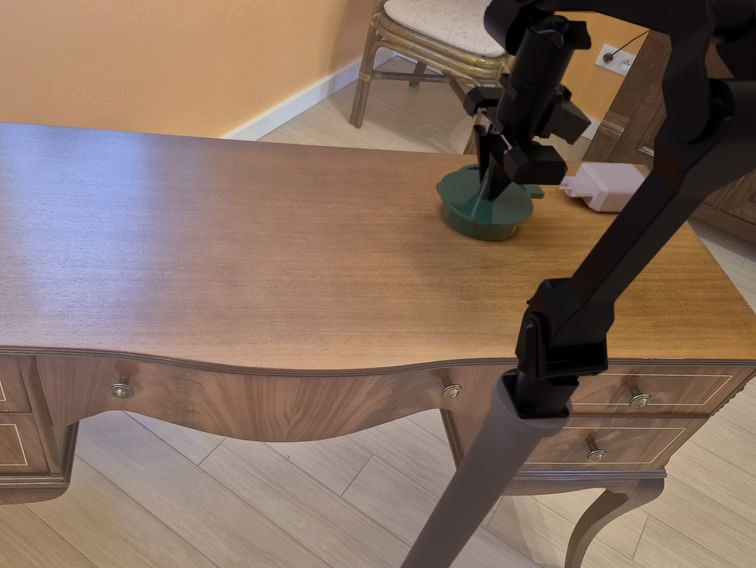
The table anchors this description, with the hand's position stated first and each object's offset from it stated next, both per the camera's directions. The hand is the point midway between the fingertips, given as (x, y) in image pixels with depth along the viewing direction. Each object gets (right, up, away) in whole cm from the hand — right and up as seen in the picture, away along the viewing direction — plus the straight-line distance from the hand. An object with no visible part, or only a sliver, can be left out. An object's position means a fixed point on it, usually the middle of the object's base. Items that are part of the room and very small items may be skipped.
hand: (487, 192), depth 81 cm
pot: (+4, 0, +18) cm, 18 cm away
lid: (0, -1, +1) cm, 1 cm away
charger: (+26, +6, +26) cm, 37 cm away
